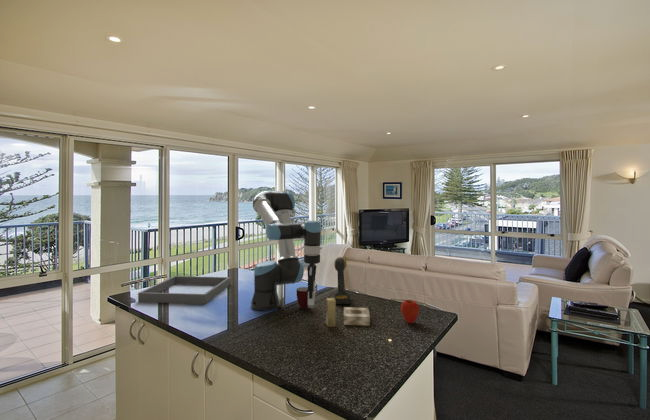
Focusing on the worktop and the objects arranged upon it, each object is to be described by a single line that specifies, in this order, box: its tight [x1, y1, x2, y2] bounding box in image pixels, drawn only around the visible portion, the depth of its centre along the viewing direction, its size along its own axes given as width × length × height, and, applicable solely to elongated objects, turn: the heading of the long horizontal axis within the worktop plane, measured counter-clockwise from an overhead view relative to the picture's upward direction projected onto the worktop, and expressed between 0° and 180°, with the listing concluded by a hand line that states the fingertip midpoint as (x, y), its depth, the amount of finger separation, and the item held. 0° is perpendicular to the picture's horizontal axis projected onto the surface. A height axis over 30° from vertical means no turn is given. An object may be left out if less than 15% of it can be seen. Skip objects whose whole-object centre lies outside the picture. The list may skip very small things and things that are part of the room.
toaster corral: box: [137, 275, 231, 305], centre depth 195 cm, size 38×38×5 cm
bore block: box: [343, 306, 371, 326], centre depth 154 cm, size 12×12×4 cm
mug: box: [296, 286, 309, 310], centre depth 169 cm, size 11×8×10 cm
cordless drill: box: [333, 256, 351, 305], centre depth 182 cm, size 9×20×25 cm, turn 174°
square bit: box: [325, 297, 337, 328], centre depth 147 cm, size 4×4×12 cm
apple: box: [400, 299, 420, 324], centre depth 151 cm, size 9×8×11 cm
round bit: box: [308, 280, 316, 309], centre depth 151 cm, size 3×3×12 cm
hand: (311, 303), depth 151 cm, fingers closed on round bit, 3 cm apart
